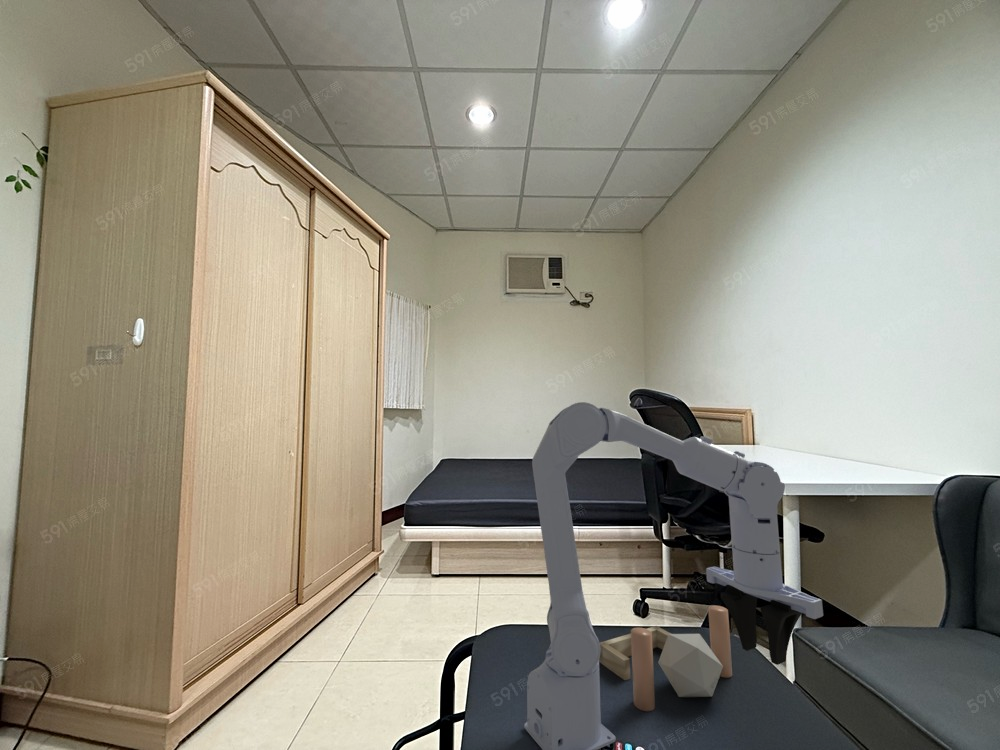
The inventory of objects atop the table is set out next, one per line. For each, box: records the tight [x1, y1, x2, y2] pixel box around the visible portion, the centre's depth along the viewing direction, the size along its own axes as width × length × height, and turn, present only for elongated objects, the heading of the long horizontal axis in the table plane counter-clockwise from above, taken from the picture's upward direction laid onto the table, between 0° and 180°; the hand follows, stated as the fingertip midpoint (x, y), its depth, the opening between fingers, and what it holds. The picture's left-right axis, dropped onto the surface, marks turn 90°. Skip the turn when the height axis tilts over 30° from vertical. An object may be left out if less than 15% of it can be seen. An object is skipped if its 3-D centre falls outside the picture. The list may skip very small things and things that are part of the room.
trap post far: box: [707, 604, 733, 679], centre depth 71 cm, size 3×3×10 cm
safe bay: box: [599, 625, 672, 681], centre depth 74 cm, size 14×6×3 cm, turn 118°
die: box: [657, 633, 723, 698], centre depth 66 cm, size 8×9×10 cm
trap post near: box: [630, 627, 656, 712], centre depth 63 cm, size 3×3×10 cm
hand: (763, 654), depth 56 cm, fingers open, 3 cm apart
